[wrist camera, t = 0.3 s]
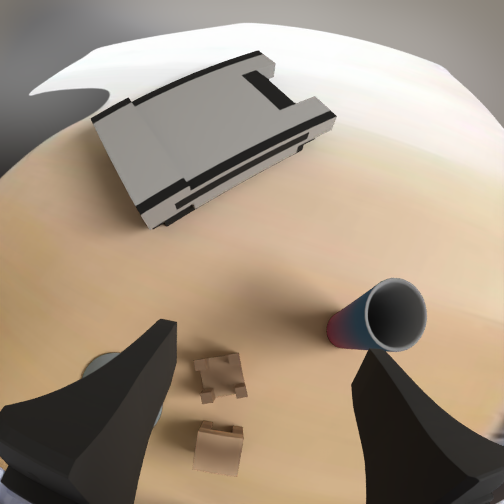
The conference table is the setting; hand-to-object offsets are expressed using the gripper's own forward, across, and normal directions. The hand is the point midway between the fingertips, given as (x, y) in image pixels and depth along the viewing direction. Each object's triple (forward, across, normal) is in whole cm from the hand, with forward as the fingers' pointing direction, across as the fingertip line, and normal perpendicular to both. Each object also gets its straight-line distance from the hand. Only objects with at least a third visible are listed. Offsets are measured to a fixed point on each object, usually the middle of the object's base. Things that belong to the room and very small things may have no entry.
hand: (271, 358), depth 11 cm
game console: (+43, +10, -4) cm, 44 cm away
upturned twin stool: (+19, +2, +22) cm, 29 cm away
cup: (+24, -13, +16) cm, 32 cm away
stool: (+13, +1, +28) cm, 31 cm away
